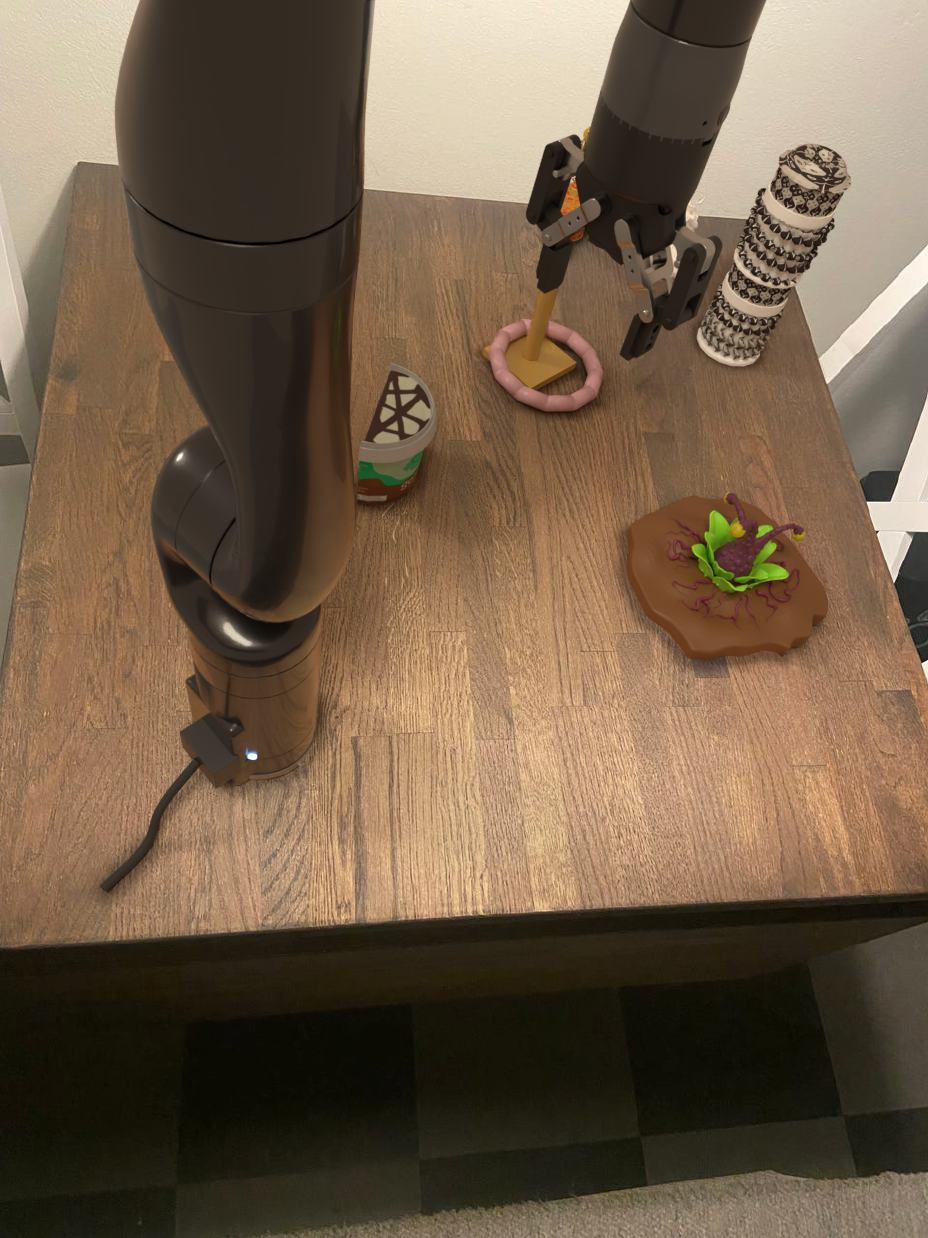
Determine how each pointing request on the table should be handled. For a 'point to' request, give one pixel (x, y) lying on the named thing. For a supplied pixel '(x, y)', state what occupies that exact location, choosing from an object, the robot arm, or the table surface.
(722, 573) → the plant
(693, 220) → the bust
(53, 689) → the table surface
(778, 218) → the decorative candle
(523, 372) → the stand
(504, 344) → the ring
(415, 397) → the food container
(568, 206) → the orange ornate vessel
